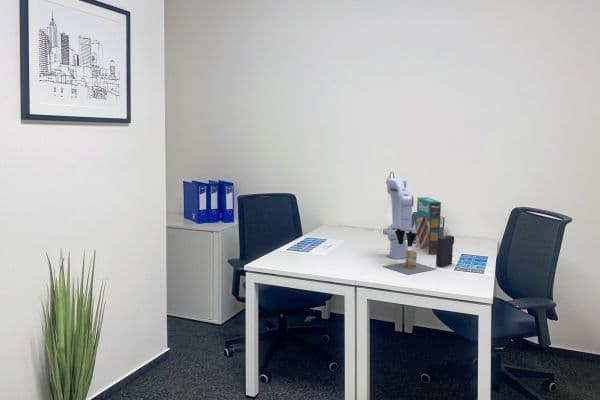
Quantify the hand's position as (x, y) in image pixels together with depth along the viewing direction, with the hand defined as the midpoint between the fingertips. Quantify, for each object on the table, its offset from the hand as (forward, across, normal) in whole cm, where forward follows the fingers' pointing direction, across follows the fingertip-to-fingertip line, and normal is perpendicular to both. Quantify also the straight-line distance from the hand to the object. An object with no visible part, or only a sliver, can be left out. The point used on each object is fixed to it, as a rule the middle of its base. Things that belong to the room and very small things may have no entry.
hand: (405, 245), depth 267 cm
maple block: (+11, +3, +2) cm, 11 cm away
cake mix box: (+9, -25, +35) cm, 44 cm away
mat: (+11, +4, 0) cm, 12 cm away
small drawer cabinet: (+11, +6, +20) cm, 24 cm away
